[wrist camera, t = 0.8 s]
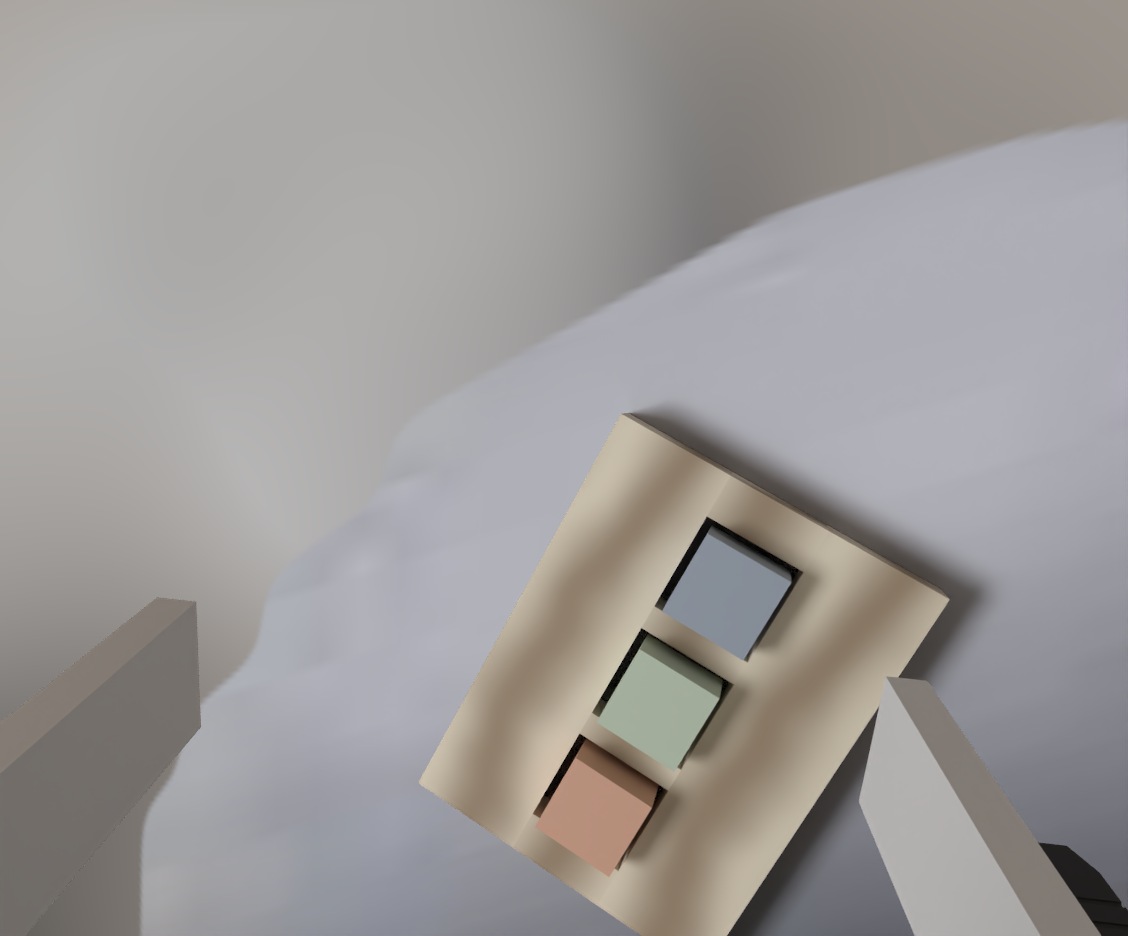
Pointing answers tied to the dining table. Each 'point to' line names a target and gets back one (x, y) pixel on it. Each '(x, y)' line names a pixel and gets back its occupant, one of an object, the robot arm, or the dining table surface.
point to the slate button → (728, 592)
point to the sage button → (661, 702)
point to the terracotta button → (598, 807)
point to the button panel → (756, 684)
